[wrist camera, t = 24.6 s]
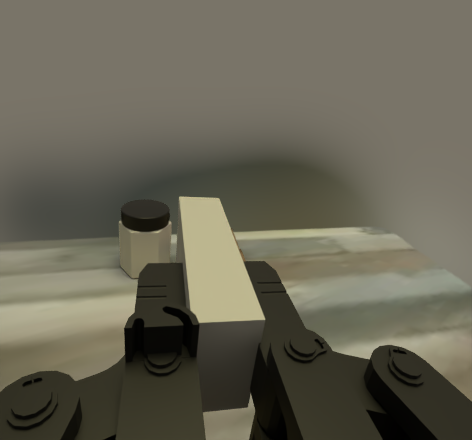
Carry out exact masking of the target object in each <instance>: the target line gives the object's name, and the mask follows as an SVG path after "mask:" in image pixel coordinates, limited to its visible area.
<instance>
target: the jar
mask: <svg viewBox="0 0 472 440" xmlns="http://www.w3.org/2000/svg"><path fill="white" fill-rule="evenodd" d="M169 218H170V213H169V207H168V206H167V205H166V204H164V203H162V202H159V201H154V200H135V201H131V202H128V203H126V204H124V205H123V206H122V208H121V221H119V241H120V266H121V267H122V268H123V269H124V271H125V272H126V273H127V274H128V275H129V276H130V277H131V278H139V273H140V272H141V271H142V270H143V268H144V267H145V266H146V265H147V264H148V263H170V247H171V222H170V221H169Z"/></svg>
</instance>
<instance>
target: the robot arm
mask: <svg viewBox="0 0 472 440" xmlns="http://www.w3.org/2000/svg"><path fill="white" fill-rule="evenodd" d="M124 334H125V355H124V356H123V357H122V358H121V359H120V361H119V362H118V363H116V364H115V365H113V366H112V367H110V368H109V369H107V370H105V371H103V372H100V373H98V374H96V375H93V376H90V377H87V378H84V379H81V380H78V381H74V380H73V379H72V378H71V377H70V375H68V374H64V373H61V372H58V371H40V372H37V373H34V374H31V375H28V376H24V377H22V378H20V379H19V380H17V381H15V382H13V383H12V384H10V385H8V386H7V387H5V388H4V389H3V390H2V391H1V392H0V440H206V438H205V429H204V419H203V412H209V411H219V410H228V409H237V408H247V407H248V403H249V399H250V394H251V395H252V399H253V403H254V407H255V415H254V420H253V424H252V429H251V434H250V438H249V440H472V401H470V400H469V399H468V398H467V397H466V396H465V395H464V394H462V393H461V392H460V391H459V390H458V389H457V388H456V387H455V386H453V385H452V384H451V383H450V382H449V381H448V380H447V379H445V378H444V377H443V376H442V375H441V374H440V373H439V372H438V371H436V370H435V369H434V368H433V367H432V366H431V365H430V364H428V363H427V362H426V361H425V360H423V359H422V358H421V357H419V356H418V355H416V354H415V353H413V352H411V351H409V350H407V349H404V348H402V347H398V346H393V345H385V346H379V347H378V348H376V349H375V350H374V351H373V353H372V355H371V358H370V360H369V359H364V358H359V357H354V356H349V355H344V354H341V353H337V352H334V351H332V349H331V347H330V346H329V345H328V344H327V342H326V341H325V340H324V339H323V338H322V337H320V336H319V335H318V334H316V333H315V332H313V331H310V330H308V329H306V328H305V326H304V324H303V322H302V320H301V318H300V317H299V315H298V313H297V311H296V309H295V307H294V305H293V303H292V301H291V299H290V297H289V295H288V294H286V290H285V288H284V286H283V284H282V283H281V280H280V278H279V276H278V274H277V272H276V271H275V270H274V269H273V268H272V267H271V266H270V265H268V264H267V263H266V262H265V261H243V260H242V257H241V255H240V252H239V249H238V247H237V244H236V241H235V239H234V236H233V234H232V231H231V228H230V226H229V223H228V221H227V218H226V215H225V213H224V210H223V207H222V205H221V203H220V200H219V198H199V197H179V211H178V230H177V251H176V263H148V264H147V265H146V266H145V267H144V268H143V270H142V271H141V272H140V273H139V279H138V288H137V296H136V304H135V313H134V314H132V315H131V316H130V317H129V318H128V321H127V323H126V325H125V328H124Z"/></svg>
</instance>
